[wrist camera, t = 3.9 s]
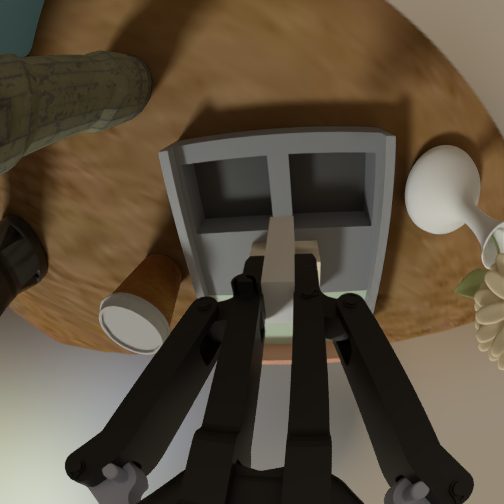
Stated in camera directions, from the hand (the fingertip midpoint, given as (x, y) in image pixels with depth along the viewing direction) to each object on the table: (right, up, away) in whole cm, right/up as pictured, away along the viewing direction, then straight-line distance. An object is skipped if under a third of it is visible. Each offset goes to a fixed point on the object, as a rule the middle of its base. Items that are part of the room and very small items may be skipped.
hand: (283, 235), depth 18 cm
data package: (-34, +32, 0) cm, 47 cm away
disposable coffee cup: (-15, -4, +21) cm, 26 cm away
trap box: (+2, 0, +16) cm, 16 cm away
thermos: (-17, +18, +7) cm, 26 cm away
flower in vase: (+20, +7, +10) cm, 23 cm away
